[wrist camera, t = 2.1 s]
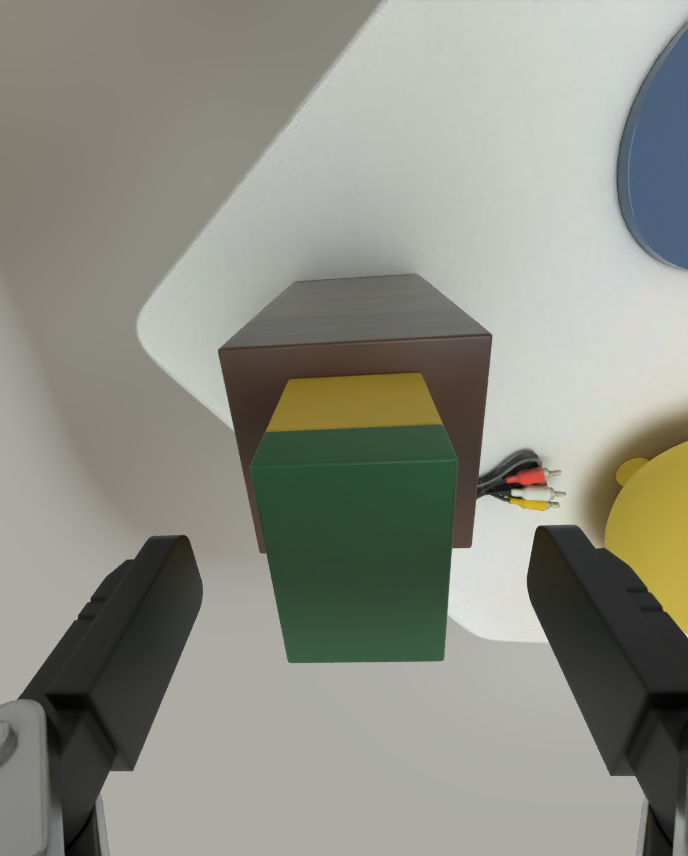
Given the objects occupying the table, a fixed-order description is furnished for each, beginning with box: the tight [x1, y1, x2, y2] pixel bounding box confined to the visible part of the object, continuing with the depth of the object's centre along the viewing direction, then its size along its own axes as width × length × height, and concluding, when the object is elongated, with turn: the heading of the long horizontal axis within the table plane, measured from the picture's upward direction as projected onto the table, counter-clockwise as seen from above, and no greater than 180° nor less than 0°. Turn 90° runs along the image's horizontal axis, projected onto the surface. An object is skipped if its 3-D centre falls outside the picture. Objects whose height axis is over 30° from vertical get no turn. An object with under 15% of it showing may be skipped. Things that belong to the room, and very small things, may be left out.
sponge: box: [249, 372, 458, 663], centre depth 11 cm, size 6×4×5 cm, turn 4°
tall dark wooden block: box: [218, 274, 492, 553], centre depth 21 cm, size 8×8×16 cm
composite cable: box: [476, 452, 566, 511], centre depth 31 cm, size 10×5×2 cm, turn 102°
